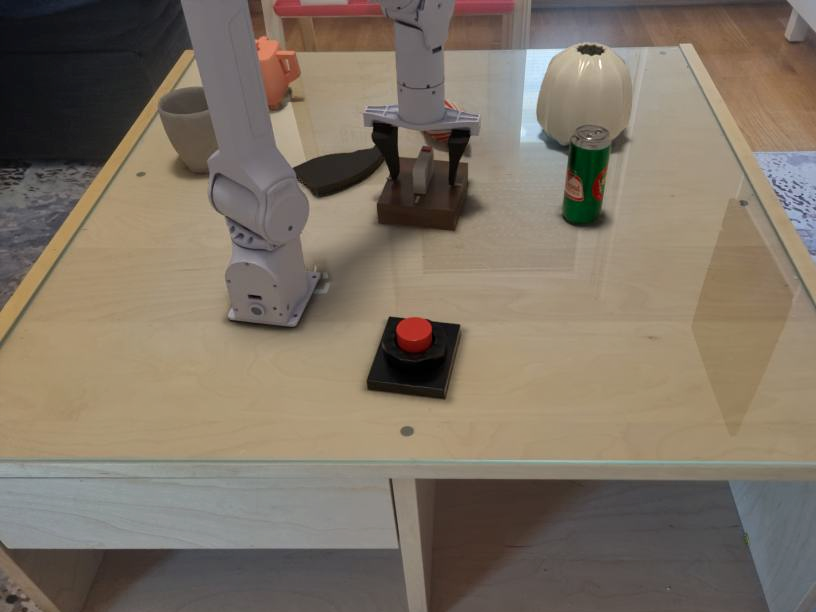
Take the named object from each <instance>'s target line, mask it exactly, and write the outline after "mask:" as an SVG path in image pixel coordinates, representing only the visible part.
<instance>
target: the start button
mask: <svg viewBox="0 0 816 612" xmlns="http://www.w3.org/2000/svg"><path fill="white" fill-rule="evenodd" d="M405 318H406V319H404V320H402V321H401V322H400V323H399V324H398V325H397V328H396V331H397V343H398V346H399V347H400V348H401V349H402V350H404V351H406V352H410V353H419V352H422V351H425V350H426V349H428V348H429V347H430V345H431V344H432V327H431V324H430V323H429V322H428V321H427V320H425V319H426V318H423V317H419V316H410V317H405Z"/></svg>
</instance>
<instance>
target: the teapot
mask: <svg viewBox="0 0 816 612" xmlns="http://www.w3.org/2000/svg"><path fill="white" fill-rule="evenodd" d="M255 42H256V47H257V52H258V57H259V62H260V67H261V72H262V77H263V82H264V87H265V92H266V97H267V102H268V107H269V110H276V109H279V108H280V104H279V103H280V102H281V101H282V100H283V99H284V98H285V96H286V94H287V92H288V89H289V84H291V83H293V82H294V81H296V80H297V79H299V78H301V75H302V72H301V68H300V64H299V60H298V56H297V53H296V50H283V49H282V47H281V43H279V41H278V40H274V39H272V40H271V39H269V37H268V36H266V35H263V36H260V37H259V38H258V39H257V38H255ZM287 62H288V63H287Z"/></svg>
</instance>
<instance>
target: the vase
mask: <svg viewBox="0 0 816 612" xmlns="http://www.w3.org/2000/svg"><path fill="white" fill-rule="evenodd" d="M538 92H539V93H538V98H537V102H536V108H535V115H536V116H535V117H536V121H537V123H538V124H539V126H540V127H541V128H542V130H543V131H544V132H545V134H546V135H547V137H548V138H549V139H552V140H555V141H556V142H557V143H558V144H559V145H561V146H564V147H565V146H570V138H571V136H572V135H573V134H574V131H575V129H576V128H577V127H579V126H581V125H587V124H593V125H599V126H602V127H604V128H606V129H607V130H608V131H609V132H610V138H611V140H612V141H614V140H615V139H616V138H617V137H618V136H619V135H620V134H621V133H622V132H623V130H624V129H625V128H627V126H628V125H629V122H630V119H631V115H632V107H633V83H632V76H631V73H630V69H629V68H628V66H627V65H626V61H625V59H624V58H623V57H622V56H621V55H620V54H619V53H617V52H616V51H615V50H614V49H612V48H611V47H609V46H607V45H605V44H601V43H598V42H588V41H583V42H581V43H574V44H573V45H570V46H569V47H567V48H564V49H562V50H561V51H560V52H558V53H556V54H555V55H554V56H553V57H552V58H551V60H550V61H549V63H548V66H547V68H546V71H545V73H544V75H543V78H542V81H541V85H540V88H539V91H538Z"/></svg>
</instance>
